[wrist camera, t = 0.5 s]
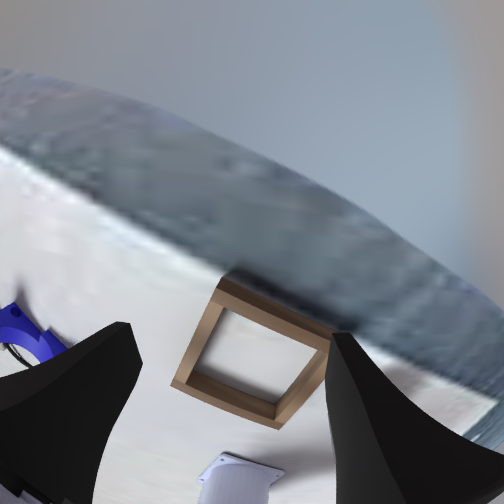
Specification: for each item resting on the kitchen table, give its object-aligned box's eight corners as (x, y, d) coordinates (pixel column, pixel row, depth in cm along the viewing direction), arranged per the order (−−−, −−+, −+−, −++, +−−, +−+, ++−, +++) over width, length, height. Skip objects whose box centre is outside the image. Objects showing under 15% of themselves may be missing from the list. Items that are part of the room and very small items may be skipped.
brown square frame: (279, 414, 23) (278, 430, 21) (177, 371, 23) (170, 385, 21) (342, 334, 20) (348, 348, 18) (221, 277, 20) (215, 287, 18)
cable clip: (88, 366, 24) (58, 399, 18) (79, 385, 25) (53, 416, 20) (16, 292, 23) (-19, 312, 17) (12, 317, 24) (-19, 337, 19)
